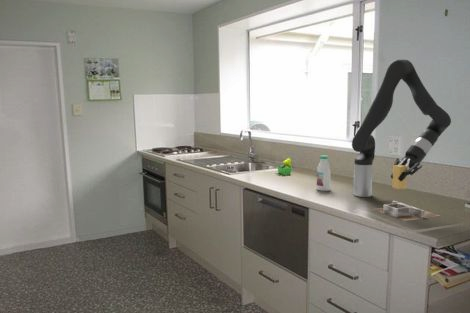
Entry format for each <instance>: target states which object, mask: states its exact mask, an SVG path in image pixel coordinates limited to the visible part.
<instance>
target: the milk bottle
mask: <svg viewBox="0 0 470 313" xmlns="http://www.w3.org/2000/svg"><path fill="white" fill-rule="evenodd" d="M328 158H329V156H328V155H325V154H324V155H319V164H318V165H317V168H316V190H318V191H322V192H323V191H324V192H327V191H330V190H331V167H330V165H329V161H328V160H329V159H328Z"/></svg>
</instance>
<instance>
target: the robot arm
mask: <svg viewBox="0 0 470 313" xmlns="http://www.w3.org/2000/svg"><path fill="white" fill-rule="evenodd" d="M401 80H402V81H403V82H404V83H405V84H406V85H407V86H408V89H409V90H410V92H411V95H412V98H413V101H414V103H415V105H416V106H417V107H418V109H419V110H420V111H421V113H422V114H423V115H424V116H429V117H430V118H431V121H430V122H429V123H428V125H427V126H426V128H425V129H424V130H423V131H422V133H421V134H420V135H419V136H418V137H417V138H416V139H415V140H414V141H413V143H412V144H411V145H410V147H408V149H407V151H405V156H404V157H402V158H401V159H400V158H398V157H397V158H396V159H395V161H394V163H393V165H404V166H406V168H405V170H404V172H402V174H401V175H400V176H399V177H398V179H399V180H400V181H403V180H404V179H405V177H406V176H409V175H410V176H412V175H414V174H416V172H418V171H419V170H420V169H421V168H422V167H423V166H422V164H421V162H423V161H424V159H425V157H427V155H428V153H429V152H430V151H431V150H432V147H433V146H434V145H435V144H436V142H437V141H438V140H439V137H440V136H442V134H443V132H445V131H446V129H447V128H449V126H451V123H452V118H451V116H450V115H449V113H448V112H447V111H446V110H445V109H443V108H442V107H441V106H439V105H438V103H437V102H436V101H435V99H434V98H433V97H432V96H431V94H430V93H429V91H428V90H427V88H426V87H425V86H424V83H423V82H422V80H421V78H420V76H419V74H418V73H417V71H416V69H415V66H414V64H413V63H412V62H411V61H410V60H408V59H395V60H393V61H391V62H390V63H389V65H388V67H387V69H386V72H385V74H384V76H383V80H382V83H381V85H380V87H379V89H378V91H377V93H376V95H375V97H374V100H373V101H372V103H371V104H370V107H369V109H368V111H367V114H366V115H365V117H364V120H362V123H361V126H360V127H359V128H358V130H357V131H356V133H355V135H353V136H354V137H353V138H352V140H351V147H352V149H353V150H354V151H355V152H356V153H359V154H357V155H358V156H356V157H355V158H354V163H353V164H354V169H353V171H354V174H353V177H352V195H353V196H355V197H361V198H369V197H372V192H373V191H372V190H373V187H372V186H373V185H372V184H373V162H374V160H375V152H376V139H375V138H374V136H373V135H372V134H373V132H374V131H375V130H376V128H377V127H379V125H381V124H382V123H383V121H384V120H386V118H387V117H388V114H389V112H390V111H391V110H392V106H393V103H394V102H393V101H394V94H395V91H396V88H397V87H398V84H399V83H400V81H401ZM390 178H391V179H392V180H393V172H392V173H391V175H390Z"/></svg>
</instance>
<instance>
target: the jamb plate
mask: <svg viewBox="0 0 470 313" xmlns="http://www.w3.org/2000/svg"><path fill="white" fill-rule="evenodd" d="M373 210H374V211H377V212H379V213H382V214H383V215H387V216H389V217H392V218H395V219H398V220H400V221H402V222H407V221H408V222H409V221H414V220H415V221H417V220H422V219H427V218H429V219H430V218H435V217H441V215H439V214H436V213H434V212H430V211H427V210H426V209H422V208H419V207H416V206H412V205H409V204H407V203H404V202H400V201H397V200H392V201H391V203H388V204H387V203H385V204H383V207H379V208H373Z"/></svg>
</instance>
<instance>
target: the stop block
mask: <svg viewBox="0 0 470 313" xmlns="http://www.w3.org/2000/svg"><path fill="white" fill-rule="evenodd" d="M405 168H406V166H404V165H394V164H393V165H392V173H393V179H392V183H391V185H392V186H391V187H392V189H397V190H406V188H407V176H408V175H407V176H406V177H405V179H404V180H403V181H400V180H399V179H398V177H399V176H400V175H401V174H402V172H404V170H405Z"/></svg>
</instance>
